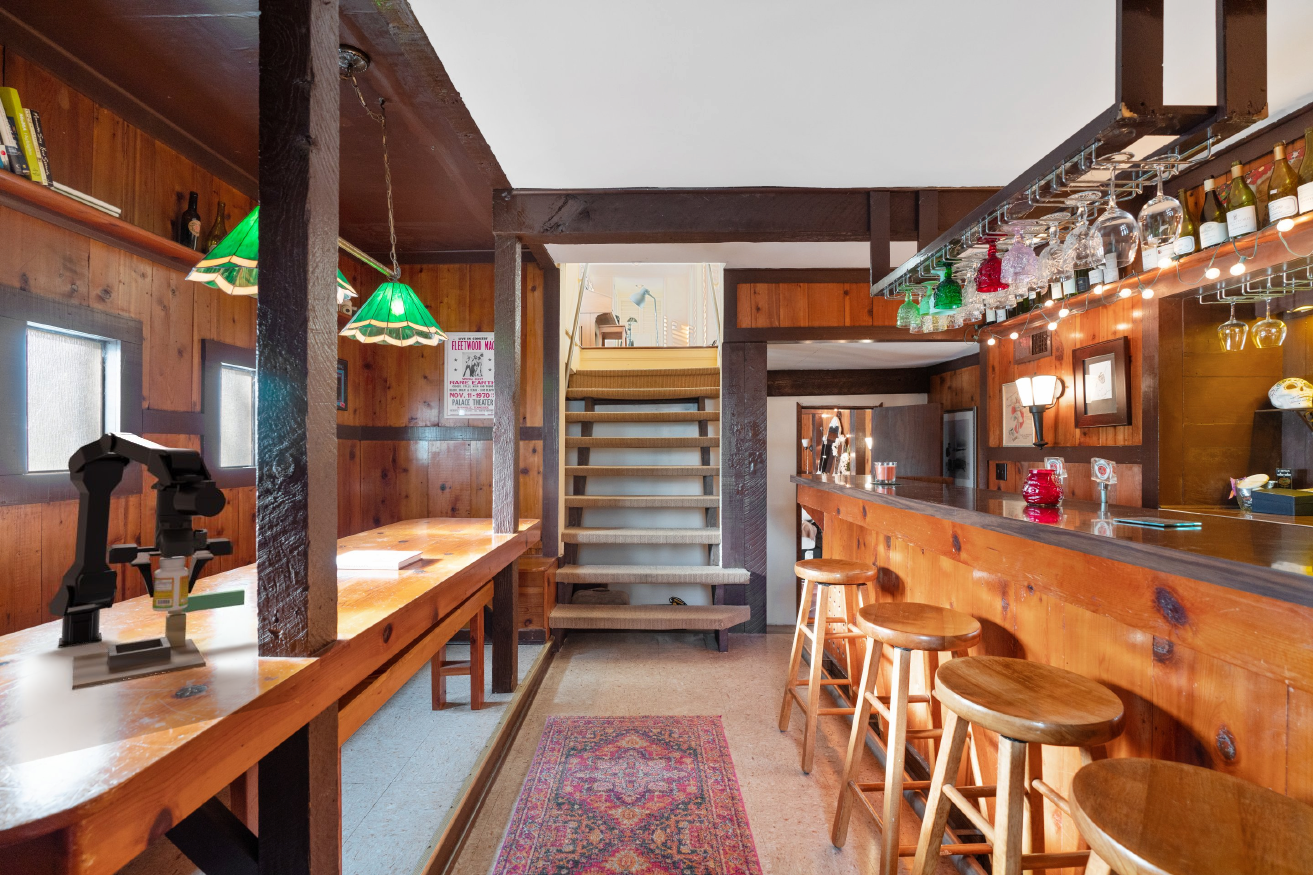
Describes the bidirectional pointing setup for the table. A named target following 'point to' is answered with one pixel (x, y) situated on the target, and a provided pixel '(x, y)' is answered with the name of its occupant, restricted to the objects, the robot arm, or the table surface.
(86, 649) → the table surface
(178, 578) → the supplement bottle
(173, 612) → the keeper arm
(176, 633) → the bottle stand
